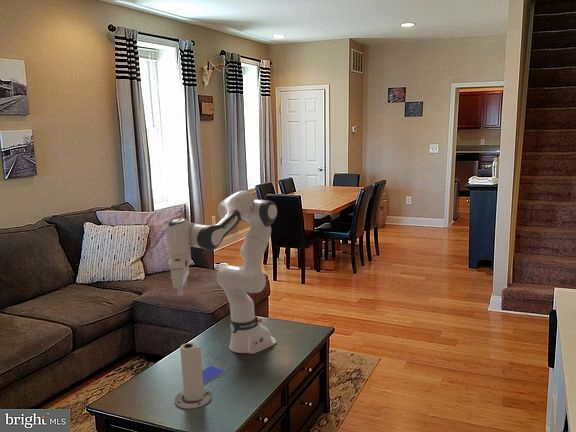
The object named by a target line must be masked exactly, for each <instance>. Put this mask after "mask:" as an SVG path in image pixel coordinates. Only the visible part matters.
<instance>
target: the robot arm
mask: <svg viewBox="0 0 576 432" xmlns="http://www.w3.org/2000/svg"><path fill="white" fill-rule="evenodd" d="M278 211H279V209H278V206H277V204H276V203H275V201H272V200H269V199H266V200H265V199H257V198H256V199H254V196H253V194H252V193H251V192H250V191H248V190H240V191H236V192H234V193H232V194H231V195H229V196H227V197H226V198H224V199H223V200H222V201H220V203H219V204H218V207H217V213H218V214H217V215H218V216H219V219H220V221H219V222H217V223H216V224H210V225H208V224H199V223H194V222H190V221H188V220H187V219H186V218H181V217H179V218H175V219H172V220H170V221H169V222H168V224H167V226H166V239H167V245H168V252H167V253H168V254H167V255H168V270H169V269H170V276H171V277H170V278H171V283H172V286H173V288H174V289H176V290H177V296H178V297H182V296H183V295H184V290H183V289H186V288H187V283H188V282H187V279H188V276H189V275H190V266H189V264H191V263H192V254H191V248H193V247H194V248H199V249H203V250H207V251H214V250H216V249H218V247H219V246H220V245H221V243H222V242H223V240H224V239H225V238H226V236H228V234H229V233H231V231H232V230H233V229H234V228H235V227H236V226H237V225H238V224H239V223H240V222H244V223H246V222H248V223H250V229H249V230H248V232H247V234H246V236H245V238H244V240H243V243H242V245H241V247H240V250H239V255H240V257H241V259H242V260H243V264H242V266H239V265H232V264H231V265H223V266H221V267H219V268H218V270H217V273H216V282H217V284H218V285H220V287H221V288H222V289H223V291H224V292H225V295H226V297H227V300H228V303H229V310H230V311H229V312H230V320H229V321H230V322H229V323H230V333H231V334H230V342H229V347H228V348H229V350H230V351H231V352H233V353H238V354H239V353H240V354H253V355H254V354H256V353H258V352H259V353H260V352H261V351H263V350H265V349H267V348H270V347H273V346H274V345H277V340H276V338H275V337H274V336H272V334H271V331H270V330H269V328H268V327H266V326H265V325H263V324H261V323H262V322H263V318H261V317H258V316H256V315H255V302H254V300H253V299H252V298H251V296H249V294H254V293H257V294H258V293H261V291H263V290H264V288H265V287H266V282H267V279H266V276H265V274H264V272H263V269H262V261H263V257H264V254H265V252H266V250H267V247H268V244H269V242H270V238H271V234H272V227H271V226H272V225H273V224H274V222H275V220H276V218H277V216H278ZM248 293H249V294H248Z"/></svg>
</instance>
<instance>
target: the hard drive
mask: <svg viewBox="0 0 576 432" xmlns="http://www.w3.org/2000/svg"><path fill="white" fill-rule="evenodd" d="M224 373H225V370H223V369H220V368H218V367H215V366H212V365H210V366H208V367H206V368H205V369H202V375H203V386H204V385H206V384H208V383H209V382H210V381H213V380H214V379H216V378H217V377H220V376H221V375H223V374H224Z"/></svg>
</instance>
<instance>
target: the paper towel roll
mask: <svg viewBox="0 0 576 432" xmlns="http://www.w3.org/2000/svg"><path fill="white" fill-rule="evenodd" d="M201 348H202V347H197V344H196V343H194V342H186V343H183V344H181V345H180V347H179V349H180V350H179V351H180V361H181V375H182V386H183V391H184V398H185V400H187V401H197V400H200V399H204V389H205V388H204V385H203V375H202V370H203V365H202V364H203V362H202V349H201Z"/></svg>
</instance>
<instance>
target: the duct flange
mask: <svg viewBox="0 0 576 432" xmlns="http://www.w3.org/2000/svg"><path fill="white" fill-rule="evenodd" d="M212 398H213V397H212V392H211V391H210V390H208V388H207V389H206V388H204V399H200V400H197V401H187V400H185V398H184V390H182V391H180V392H179V393H178V394H177V395H176V396H175V398H174V404H175V406H176V407H178V408H180V409H183V410H195V409H199V408H202V407H205V406H206V405H208V404H209V403H210V402H211V401H212Z"/></svg>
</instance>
